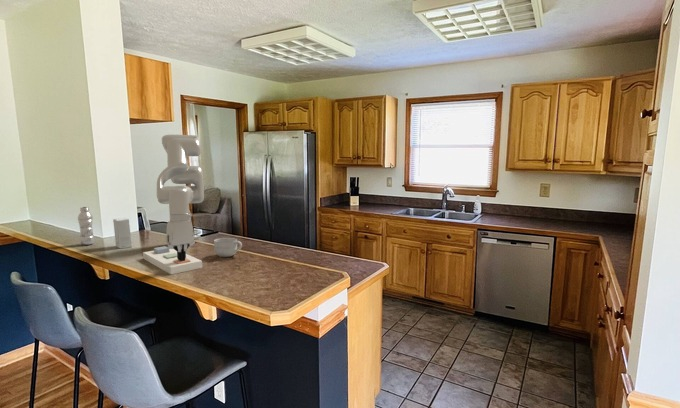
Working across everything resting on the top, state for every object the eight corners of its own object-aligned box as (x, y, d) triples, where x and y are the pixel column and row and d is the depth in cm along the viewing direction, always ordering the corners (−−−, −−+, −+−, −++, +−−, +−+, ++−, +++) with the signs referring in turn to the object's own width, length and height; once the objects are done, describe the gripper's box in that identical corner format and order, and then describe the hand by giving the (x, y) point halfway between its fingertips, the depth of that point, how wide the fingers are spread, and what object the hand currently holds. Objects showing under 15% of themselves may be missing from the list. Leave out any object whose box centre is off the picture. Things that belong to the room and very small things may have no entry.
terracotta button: (185, 262, 157) (185, 257, 156) (190, 264, 153) (190, 260, 153) (173, 264, 153) (173, 260, 153) (178, 267, 150) (178, 262, 149)
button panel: (172, 253, 176) (171, 247, 176) (202, 267, 155) (202, 260, 154) (143, 258, 167) (142, 252, 167) (171, 274, 145) (170, 267, 145)
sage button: (174, 257, 164) (174, 253, 164) (179, 259, 161) (179, 255, 160) (163, 259, 161) (163, 255, 160) (167, 261, 157) (167, 257, 157)
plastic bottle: (87, 246, 188) (84, 208, 186) (76, 245, 190) (73, 208, 187) (98, 243, 195) (95, 206, 192) (87, 242, 196) (84, 206, 193)
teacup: (209, 256, 172) (208, 240, 171) (226, 251, 181) (225, 235, 180) (231, 260, 165) (230, 243, 164) (247, 255, 175) (247, 239, 174)
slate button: (165, 250, 171) (165, 246, 171) (169, 252, 168) (169, 248, 168) (154, 252, 168) (153, 248, 168) (158, 254, 164) (157, 250, 164)
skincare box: (132, 247, 188) (130, 219, 186) (118, 249, 183) (116, 220, 182) (127, 244, 194) (125, 217, 192) (114, 246, 189) (112, 218, 188)
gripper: (193, 214, 158) (195, 255, 161) (157, 218, 148) (159, 262, 150) (201, 216, 153) (202, 258, 156) (164, 220, 142) (167, 265, 145)
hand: (181, 260), depth 153 cm, fingers closed
